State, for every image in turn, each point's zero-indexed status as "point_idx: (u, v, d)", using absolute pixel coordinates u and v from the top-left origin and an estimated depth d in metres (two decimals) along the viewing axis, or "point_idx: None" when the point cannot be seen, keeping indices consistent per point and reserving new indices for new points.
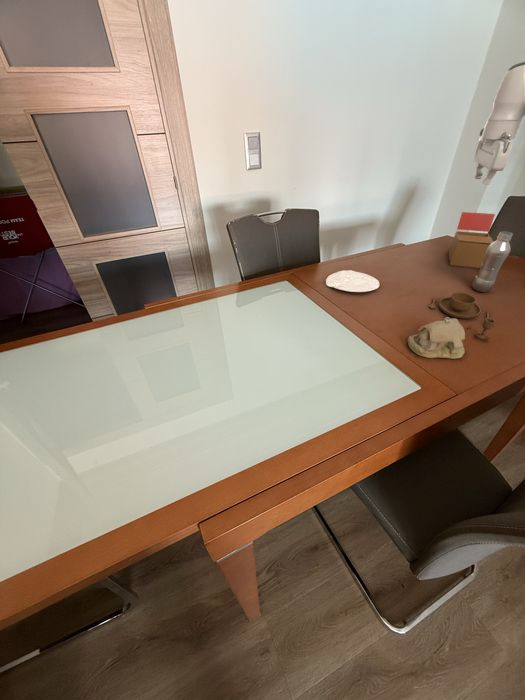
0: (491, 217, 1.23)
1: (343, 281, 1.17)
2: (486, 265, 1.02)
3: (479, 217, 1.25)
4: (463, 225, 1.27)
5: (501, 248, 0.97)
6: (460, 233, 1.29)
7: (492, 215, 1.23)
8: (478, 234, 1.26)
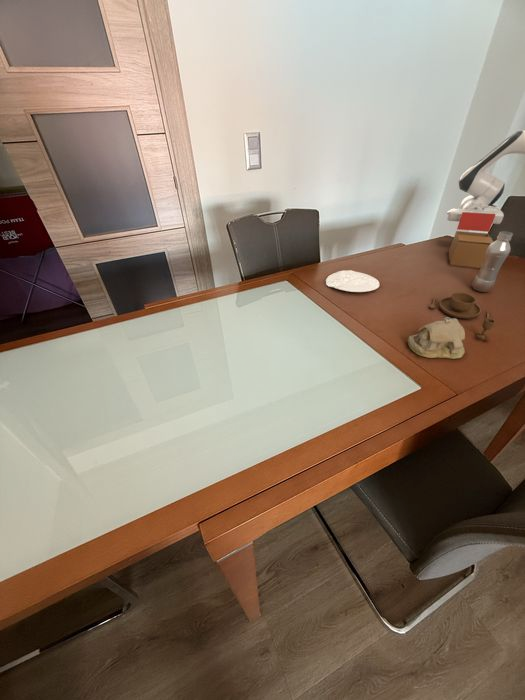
0: (492, 217, 1.22)
1: (343, 281, 1.17)
2: (486, 265, 1.02)
3: (479, 217, 1.24)
4: (463, 225, 1.27)
5: (501, 248, 0.97)
6: (460, 233, 1.29)
7: (493, 215, 1.22)
8: (478, 234, 1.26)
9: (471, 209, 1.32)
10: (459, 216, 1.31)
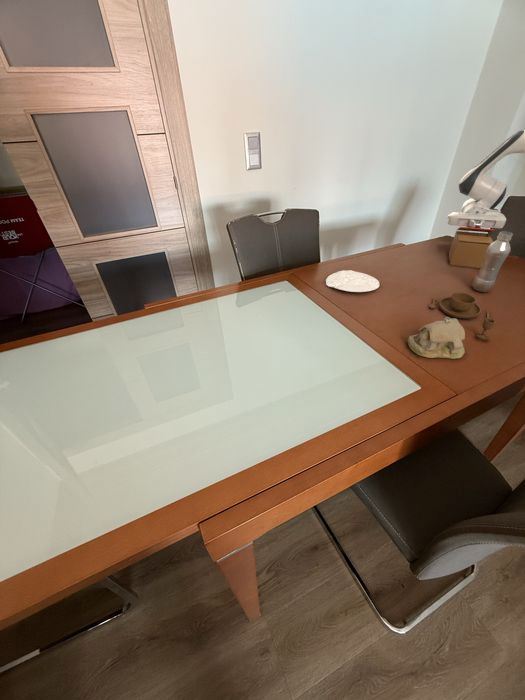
0: (490, 230, 1.20)
1: (343, 281, 1.17)
2: (486, 265, 1.02)
3: (478, 229, 1.22)
4: (462, 229, 1.27)
5: (501, 248, 0.97)
6: (460, 233, 1.29)
7: (491, 230, 1.20)
8: (478, 234, 1.26)
9: (472, 213, 1.28)
10: (460, 220, 1.27)
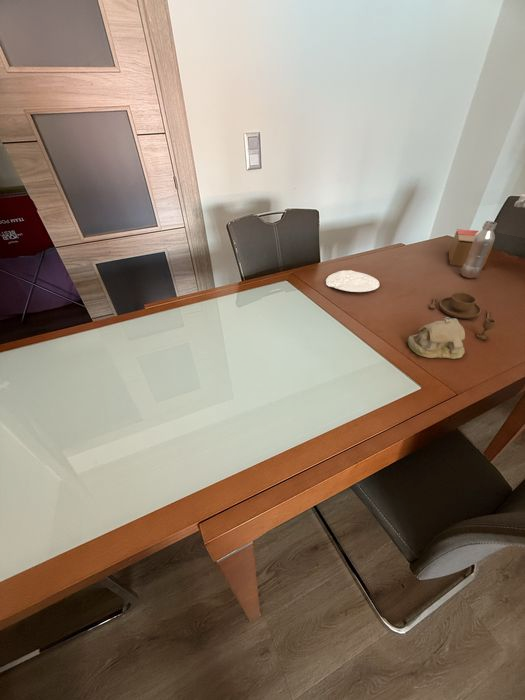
0: None
1: (343, 281, 1.17)
2: (473, 253, 1.10)
3: None
4: None
5: (486, 236, 1.05)
6: None
7: None
8: None
9: None
10: None
